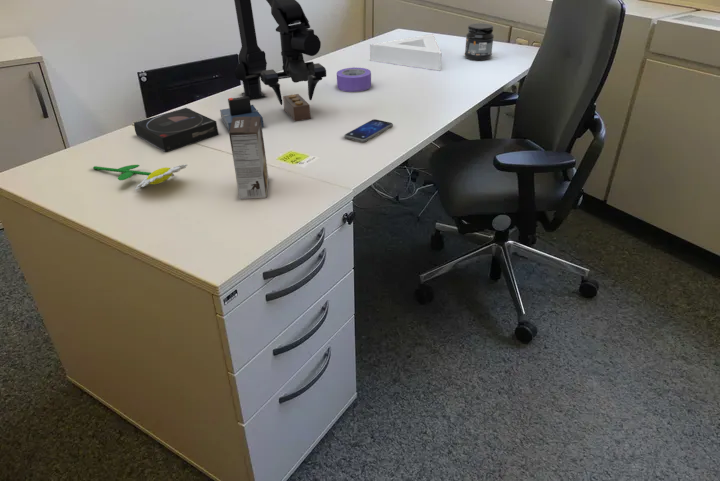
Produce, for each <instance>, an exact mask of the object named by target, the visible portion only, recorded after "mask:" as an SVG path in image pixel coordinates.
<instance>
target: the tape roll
mask: <svg viewBox="0 0 720 481" xmlns="http://www.w3.org/2000/svg"><path fill="white" fill-rule="evenodd" d="M371 87H372V71H371V70H370V69H369V68H366V67H365V68H364V67H347V68H342V69H340V70H339V69H338V70H337V71H336V88H337V89H338V90H339V91H342V92H348V93H357V92H363V91H368V90H369V89H370V88H371Z"/></svg>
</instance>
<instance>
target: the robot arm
mask: <svg viewBox="0 0 720 481" xmlns="http://www.w3.org/2000/svg"><path fill="white" fill-rule="evenodd" d="M265 1H266V2H267V3H268V5H269V7H270V14H271V16H272V17H273V19H274V21H275V22H276V24H277V27H276V28H275V32H277V33H279V37H280V48H281V51H280V55H281V58H282V59H281V60H282V70H283V71H278V72H276V70H274V68H273V69H267V66H268V62H267V57H266V53H265V52H266V51H264V50H262V49H261V48H260V47H259V45H258V40H257V38H258V37H257V34H256V26H255V20H254V12H253V6H252V0H234V6H235V13H236V19H237V20H236V21H237V26H238V32H239V38H240V44H241V47H240V50H239V52H238V55H237V58H238V65H237V66H236V68H235V71H234V75H235V78H236V80H239V81H241V82H242V87H243V92H241V95H242V97H245V96H249V98H250V100H254V99H261V98H265V97H266V95H265V93H264V92H263V91H262V84H261V83H263V84H264V85H265V86H267V87H269V88H272V90H273V92H274V94H275V96H276V99H277V100H278V102H279V105H280V106H283V96H282V92H281V84H280V83H279V82H280V80H282V79H289V78H290V80H291V81H292V82H293V83H295V84H297V83H299V82H307V94H308V99H309V101H312V100H313V96H314V92H315V90H316V87H317V84H318V83H319V82H320V81H322V80H323V78H326V77H327V69H326V67H325V66H323V65H322V64H321V63H320V62H318V63H317V62H316V63H314V61H306V62H305V60H304V59H305V58H304V55H306V56H309V57H314V56H316V55H317V54H318V53H319V52H320V50H321V47H322V42H321V40H320V38H319V36H318V35H317V34H315V30H314V29H312V28H311V25H310V21H309V19H308V18H307V16H306V14H305V12H304V9H303V7H302V6H301V4H300V3H299V2H298V1H297V0H265Z"/></svg>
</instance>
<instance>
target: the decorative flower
mask: <svg viewBox="0 0 720 481" xmlns="http://www.w3.org/2000/svg"><path fill="white" fill-rule="evenodd" d="M187 166H188V164H179V165H175V166H173V167H161V168H158V169H155V170H154V171H152V172H150V171H149V172H148V171H139V170H135V169H136V168H139V167H140V164H130V165H125V166H121V167H118V168H115V167H105V166H97V165H94V166H93V170H98V171H106V172H114V173H115V172H116V173H121V174H119V176H118V177H117V180H118V181H125V180H128V179H130V178H131V177H132V176H133V175H138V176H139V175H140V176H146V177H144V179H142V181H140V182H139V184H137V185H136V187H135V189H134V192H136V191H138V190H139V189H140V188H144V187H146V186H147V185H158V184H161V183H164V182H166V181H167V180H168V179H170V178H173V177H175V174H174V173H178V172H180V171H181V170H184V169H186V168H187Z"/></svg>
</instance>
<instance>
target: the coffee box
mask: <svg viewBox="0 0 720 481" xmlns="http://www.w3.org/2000/svg"><path fill="white" fill-rule="evenodd" d="M228 136H229V142H230V147H231V148H230V149H231V155H232V160H233V161H232V162H233V167H234V173H235V179H236V186H237V192H238V198H239V199H240V200H247V199H265V198H267V197H268V189H269V180H270V177H269V170H268V164H267V163H268V162H267V156H266V155H267V154H266V148H265V141H264V133H263V127H262V125H261V117H260V116H258V117H233V118H232V122H231V126H230V130H229V131H228Z"/></svg>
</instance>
